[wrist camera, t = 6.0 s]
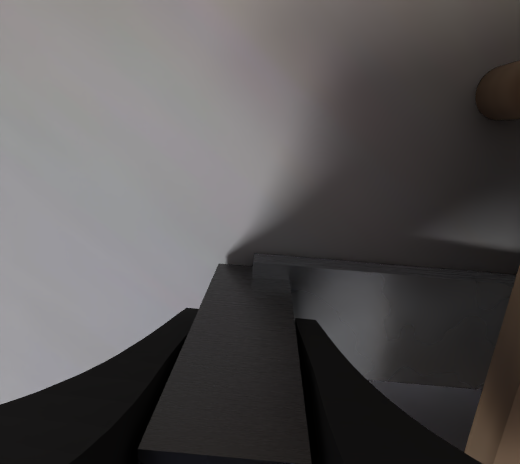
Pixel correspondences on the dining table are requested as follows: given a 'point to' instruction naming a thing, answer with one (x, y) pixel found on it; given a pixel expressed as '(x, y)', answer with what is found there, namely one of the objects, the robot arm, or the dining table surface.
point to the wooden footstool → (515, 320)
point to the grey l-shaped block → (287, 358)
